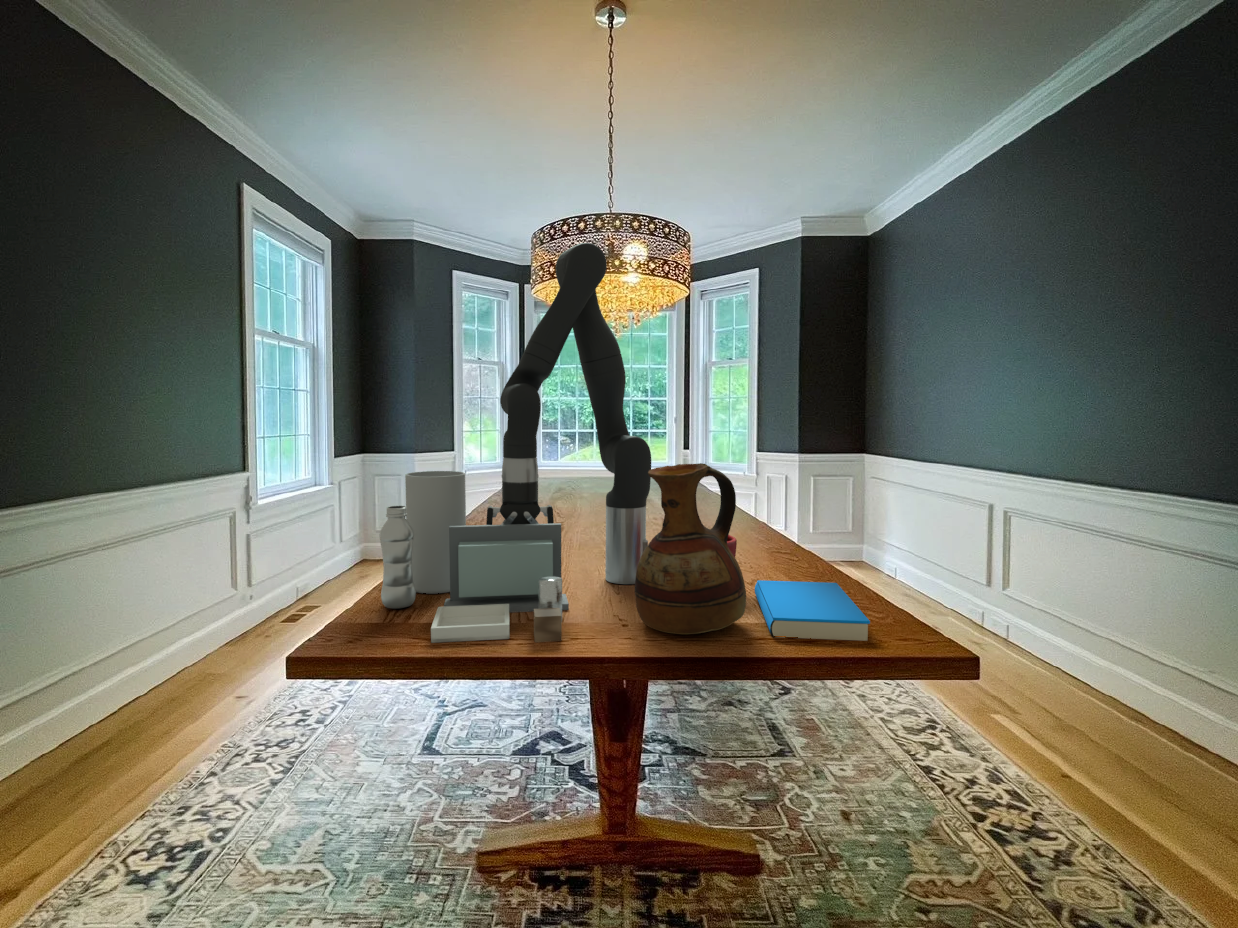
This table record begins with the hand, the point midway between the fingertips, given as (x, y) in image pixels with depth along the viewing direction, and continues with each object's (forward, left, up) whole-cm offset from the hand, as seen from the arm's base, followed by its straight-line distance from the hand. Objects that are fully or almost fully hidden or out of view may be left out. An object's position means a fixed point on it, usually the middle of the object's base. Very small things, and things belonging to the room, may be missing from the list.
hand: (520, 554), depth 140 cm
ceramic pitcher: (-30, +26, -9) cm, 41 cm away
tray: (+9, +22, -8) cm, 25 cm away
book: (-54, +24, -9) cm, 59 cm away
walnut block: (-4, +28, -8) cm, 30 cm away
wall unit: (+3, +10, -8) cm, 13 cm away
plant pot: (-40, +3, -9) cm, 41 cm away
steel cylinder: (-5, +20, -8) cm, 22 cm away
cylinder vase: (+18, -7, -8) cm, 21 cm away
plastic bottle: (+24, +7, -8) cm, 26 cm away
